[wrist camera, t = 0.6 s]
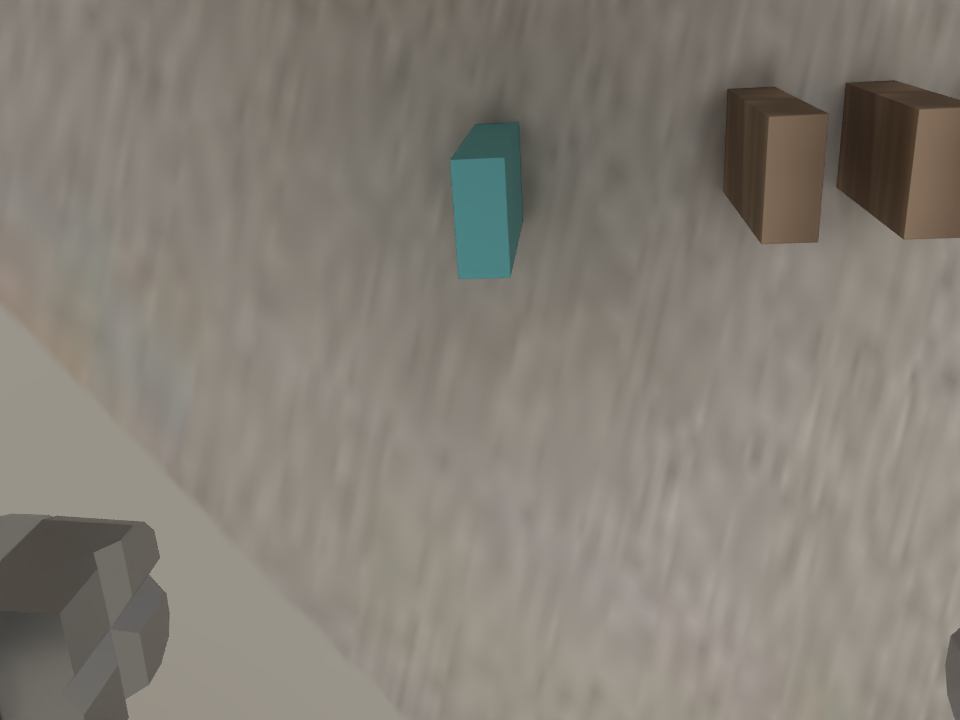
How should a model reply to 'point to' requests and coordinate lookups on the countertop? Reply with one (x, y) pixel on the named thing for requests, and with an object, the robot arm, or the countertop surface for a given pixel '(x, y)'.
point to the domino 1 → (487, 200)
